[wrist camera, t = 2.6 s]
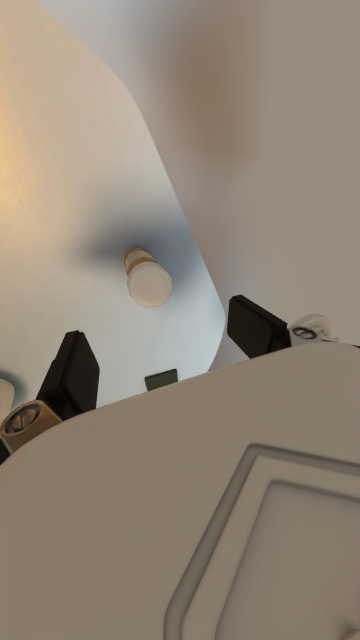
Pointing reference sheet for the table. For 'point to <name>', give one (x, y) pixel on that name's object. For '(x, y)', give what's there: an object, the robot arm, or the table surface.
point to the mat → (161, 379)
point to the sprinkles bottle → (146, 278)
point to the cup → (5, 398)
